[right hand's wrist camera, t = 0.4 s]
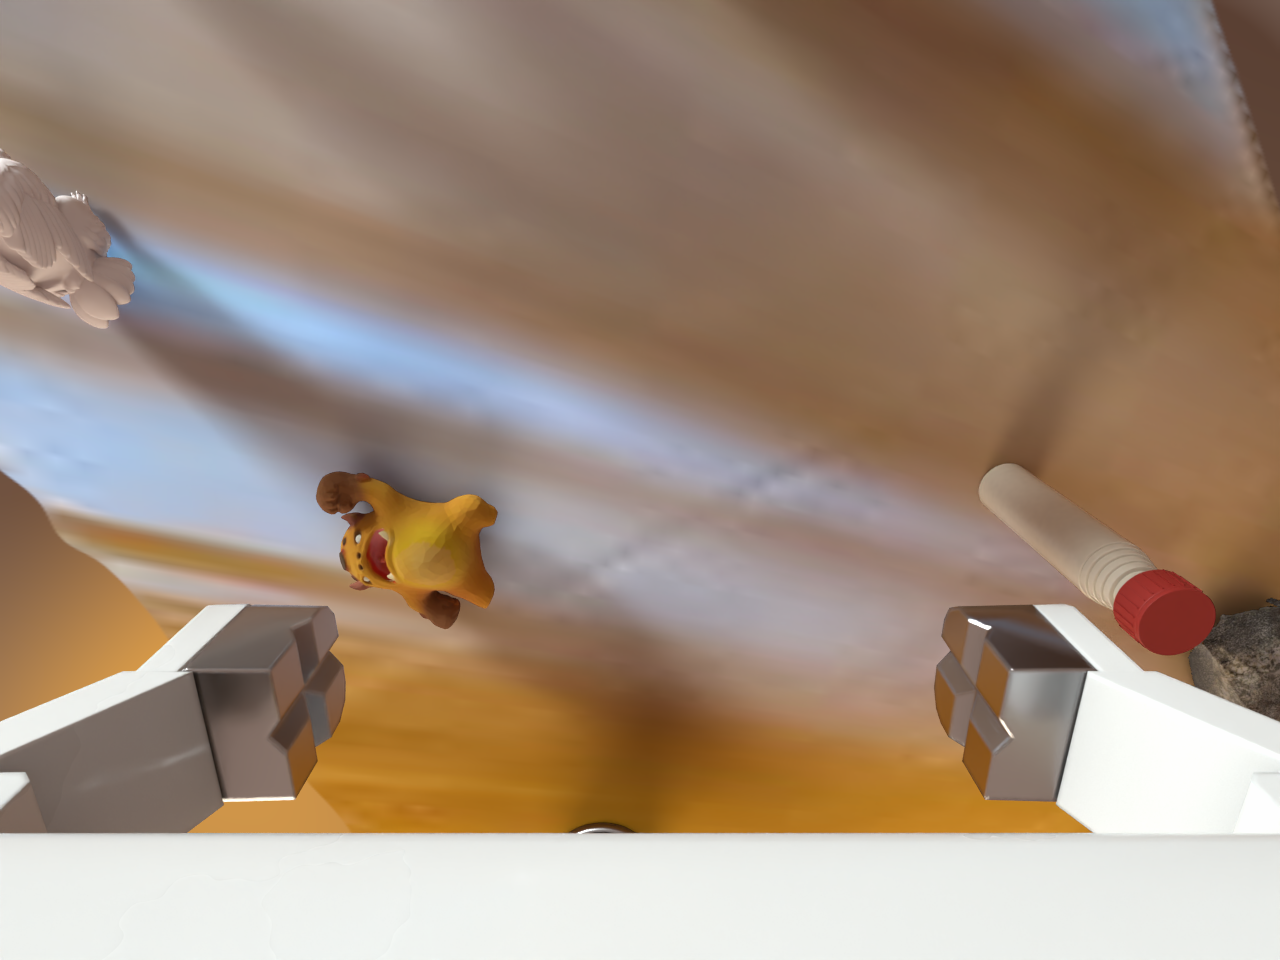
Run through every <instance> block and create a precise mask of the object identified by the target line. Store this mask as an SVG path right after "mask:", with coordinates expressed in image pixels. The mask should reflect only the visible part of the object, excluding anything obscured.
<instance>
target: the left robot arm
mask: <svg viewBox="0 0 1280 960" xmlns="http://www.w3.org/2000/svg"><path fill="white" fill-rule="evenodd" d="M569 833H635V832H633V831H632V830H630V829H628V828H626V827H623V826H620V825H617V824H612V823H592V824H587V825H584V826H581V827H578V828H576V829H574V830H572V831H571V832H569Z"/></svg>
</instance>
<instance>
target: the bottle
mask: <svg viewBox="0 0 1280 960" xmlns="http://www.w3.org/2000/svg"><path fill="white" fill-rule="evenodd" d="M979 497H980V500H981V502H982V504H983V505H984V506H985V507H986V508H987V509H988V510H989V511H991V512H992V513H993V514H994V515H995V516H996V517H997V518H998V519H1000V520H1001V521H1002V522H1003V523H1004V524H1005V525H1006V526H1007V527H1009V528H1010V529H1011V530H1012V531H1013V532H1014V533H1015V534H1017V535H1018V536H1019V537H1020V538H1021V539H1022V540H1023V541H1024V542H1026V543H1027V544H1028V545H1029V546H1030V547H1031V548H1032V549H1034V550H1035V551H1036V552H1037V553H1038V554H1039V555H1040V556H1041V557H1043V558H1044V559H1045V560H1046V561H1047V562H1048V563H1049V564H1050V565H1052V566H1053V567H1054V568H1055V569H1056V570H1057V571H1058V572H1060V573H1061V574H1062V575H1063V576H1064V577H1065V578H1066V579H1067V580H1069V581H1070V582H1071V583H1072V584H1073V585H1074V586H1075V587H1076V588H1078V589H1079V590H1080V591H1081V592H1082V593H1083V594H1084V595H1086V596H1087V597H1088V598H1090V599H1092V600H1093V601H1094V602H1096V603H1098V604H1101V605H1103V606H1104V607H1107V608H1109V609H1111V610H1113V604H1114V600H1115V597H1116V595H1117V593H1118V591H1119V589H1120V588H1121V587H1122V586H1123V585H1124V584H1125V583H1126V582H1127V581H1128V580H1129V579H1131V578H1132V577H1134V576H1135V575H1137V574H1139V573H1142V572H1145V571H1149V570H1158V569H1157V568H1156V567H1155V566H1154V564H1153V563H1152V561H1151V560H1150V559H1149V557H1148V556H1147V555H1146V554H1145V553H1144V552H1143V551H1142V550H1141V549H1140V548H1139V547H1137V546H1136V545H1134V544H1133V543H1132V542H1130V541H1129V540H1127V539H1126V538H1124V537H1123V536H1121V535H1120V534H1119V533H1117V532H1116V531H1114V530H1113V529H1111V528H1110V527H1108V526H1107V525H1106V524H1104V523H1103V522H1101V521H1100V520H1098V519H1097V518H1096V517H1094V516H1093V515H1091V514H1090V513H1088V512H1087V511H1085V510H1084V509H1083V508H1081V507H1080V506H1078V505H1077V504H1075V503H1074V502H1072V501H1071V500H1070V499H1068V498H1067V497H1065V496H1064V495H1062V494H1061V493H1059V492H1058V491H1057V490H1055V489H1054V488H1052V487H1051V486H1049V485H1048V484H1046V483H1045V482H1044V481H1042V480H1041V479H1039V478H1038V477H1036V476H1035V475H1034V474H1032V473H1031V472H1029V471H1028V470H1026V469H1025V468H1023V467H1022V466H1020V465H1017V464H1011V463H1008V464H1002V465H999V466H996V467H994V468H993V469H991V470H990V471H989V472H988V473H987V474H986V475H985V476H984V477H983V479H982V481H981V483H980V486H979Z"/></svg>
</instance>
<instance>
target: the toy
mask: <svg viewBox="0 0 1280 960" xmlns="http://www.w3.org/2000/svg"><path fill="white" fill-rule="evenodd" d="M316 500H317V502H318V504H319V506H320V507H321V508H322V510H324V511H325V512H327V513H329V514H335V513H337V512H340V513H347V512H349V511H351V510H352V509H353V508H354V506H355V505H356V504H357V503H358V502H359V501H366V502H368V503H369V504H371V506H372V507H373V509H374V511H372V512H370V513H367V514H361V513H349V514H345V515H343V516H342V517H341V518H342V519H344V520H346V521H348V523H349V524H350V525H351V526H350V527H349V528H348V530H347V531H346V533H345V535H344V537H343V540H342V542H341V552H340V553H339V555H340V561H341V564H342V566H343V569H344V570H346V571H348V572H350V574H351V575H352V578H353V579H354V580H356V581H357V582H355V583H353V584H351V585H350V587H351V588H353V589H356V590H365V589H367V588H369V587H377V588H384V589H391V590H394V591H396V592H398V593H399V594H401V595H402V596H403V598H404V599H405V600H406V602H407V604H408V606H409V607H410V608H412V609H413V610H415V611H417V612H419V613H420V615H421V616H422V617H423V618H427V619H429V620H430V621H431V622H432V623H433V624H434V625H436V626H438V627H440V628H443V629H448V628H449V627H451V626H452V624H453V623H454V622H455V620H456V619H457V617H458V614H459V611H460V602H459V600H458V599H456V598H452V597H450V596H448V595H443V594H440V593H439V592H438V591H445V592H447V593H449V594H451V595H453V596H456V597H460V598H463V599H465V600H468V601H470V602H471V603H473V604H475V605H477V606H479V607H482V608H487V607H488V605H489V604H490V602H491V599H492V597H493V595H494V590H495V589H494V583H493V581H492V578H491V577H490V575H489V574H488V573H487V571H486V570H485V567H484V564H483V560H482V557H481V550H480V540H479V533H480V531H481V529H482V528H483V527H488V526H491V525H493V524H494V523H495V520H496V517H497V510H496V509H495V507H493V506H492V505H489V504H487V503H486V502H485V501H484V500H483V499H482V498H480V497H479V496H477V495H472V494H471V495H463V496H459V497H456V498H454V499H452V500H451V501H449V502H446V503H430V502H423V501H418V500H415V499H412V498H409V497H406V496H404V495H402V494H401V493H399V492H397V491H396V490H394V489H393V488H392V487H391V486H389V485H388V484H386V483H384V482H382V481H379V480H376V479H374V478H370V477H369V476H368V475H367V474H364V473H358V474H357V475H356V474H350V473H347V472H333V473H330V474H327V475H325V476H324V477H323V478H322V480H321V481H320V483H319V486H318V489H317V494H316Z"/></svg>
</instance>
